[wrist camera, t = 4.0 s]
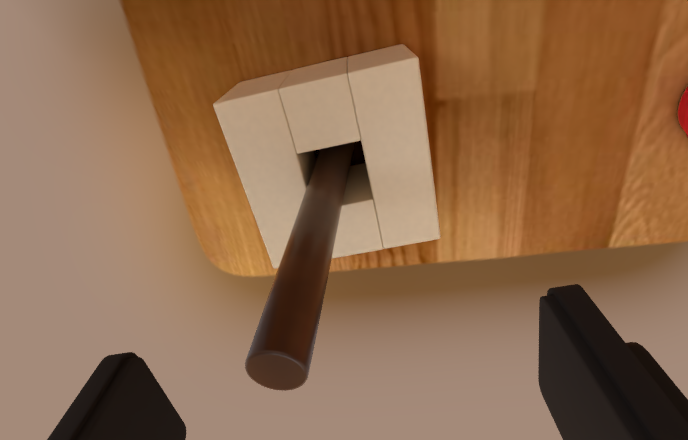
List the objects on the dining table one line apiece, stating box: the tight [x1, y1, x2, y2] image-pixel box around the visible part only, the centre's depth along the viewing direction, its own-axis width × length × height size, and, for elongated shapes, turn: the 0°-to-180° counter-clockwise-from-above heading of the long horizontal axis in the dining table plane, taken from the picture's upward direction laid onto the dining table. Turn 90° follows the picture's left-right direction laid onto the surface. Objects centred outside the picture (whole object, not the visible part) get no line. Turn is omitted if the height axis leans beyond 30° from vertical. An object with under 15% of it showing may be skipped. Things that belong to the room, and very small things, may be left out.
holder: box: [213, 44, 441, 268], centre depth 21 cm, size 9×9×5 cm
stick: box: [245, 142, 354, 390], centre depth 17 cm, size 2×2×15 cm
